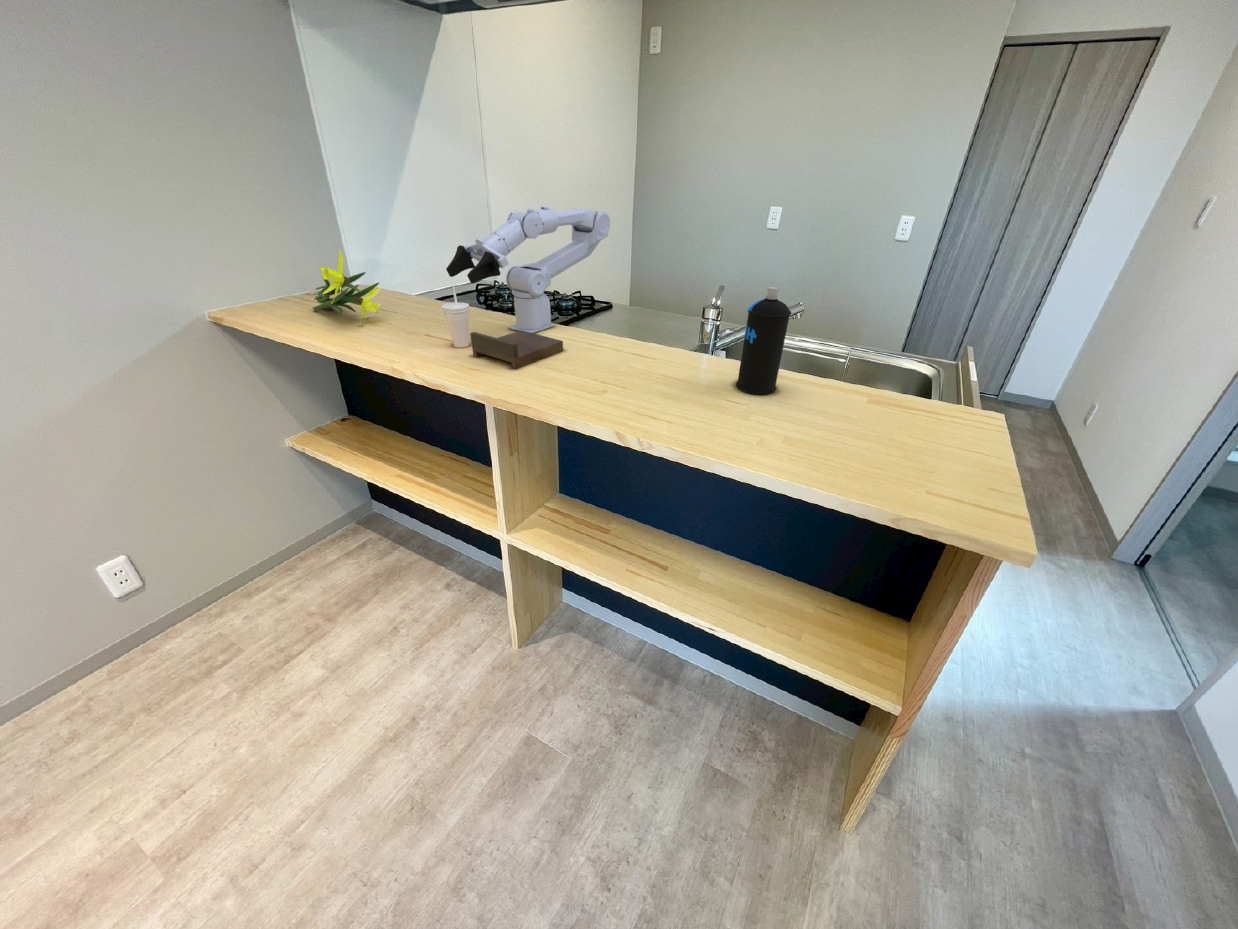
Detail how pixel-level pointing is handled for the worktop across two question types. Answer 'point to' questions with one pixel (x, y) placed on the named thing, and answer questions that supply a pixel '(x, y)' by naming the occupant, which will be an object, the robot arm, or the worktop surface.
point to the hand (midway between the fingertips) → (459, 276)
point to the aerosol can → (763, 345)
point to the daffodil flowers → (344, 297)
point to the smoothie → (457, 321)
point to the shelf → (516, 347)
